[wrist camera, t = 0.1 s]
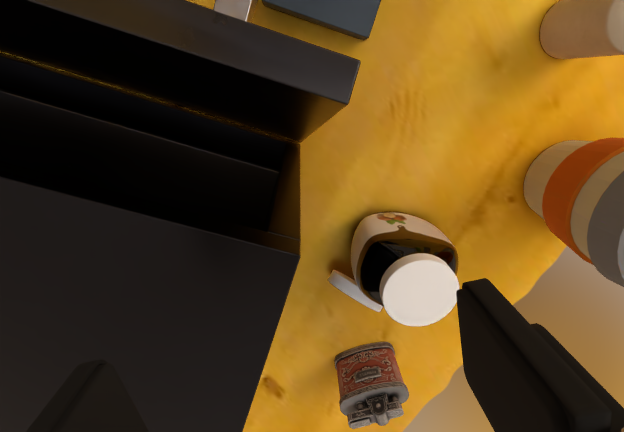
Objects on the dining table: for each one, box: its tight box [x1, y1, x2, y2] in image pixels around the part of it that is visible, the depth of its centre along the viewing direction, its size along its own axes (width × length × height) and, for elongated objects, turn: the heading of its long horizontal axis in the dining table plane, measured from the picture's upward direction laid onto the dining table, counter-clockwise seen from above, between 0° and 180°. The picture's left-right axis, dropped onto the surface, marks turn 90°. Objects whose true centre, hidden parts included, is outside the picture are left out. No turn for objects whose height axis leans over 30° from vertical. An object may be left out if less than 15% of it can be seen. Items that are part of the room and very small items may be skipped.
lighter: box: [334, 342, 409, 429], centre depth 44 cm, size 8×3×10 cm, turn 107°
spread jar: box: [328, 212, 459, 326], centre depth 38 cm, size 12×11×12 cm
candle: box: [540, 0, 624, 59], centre depth 31 cm, size 6×6×10 cm
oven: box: [0, 53, 300, 432], centre depth 29 cm, size 32×40×26 cm
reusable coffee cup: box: [523, 138, 624, 287], centre depth 34 cm, size 13×13×15 cm
